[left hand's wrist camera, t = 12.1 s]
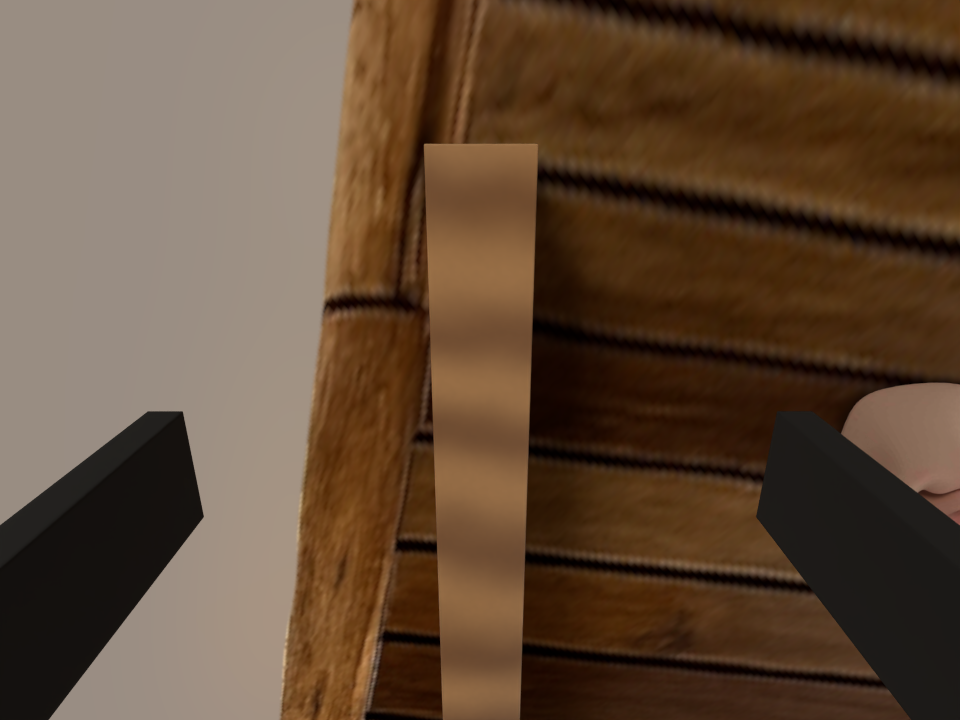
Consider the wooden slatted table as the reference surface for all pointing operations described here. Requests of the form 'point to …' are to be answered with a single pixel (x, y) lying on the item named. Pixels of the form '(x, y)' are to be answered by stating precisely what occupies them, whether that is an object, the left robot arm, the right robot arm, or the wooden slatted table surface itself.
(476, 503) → the beam
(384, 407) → the wooden slatted table surface
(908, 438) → the anatomical model
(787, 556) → the left robot arm
